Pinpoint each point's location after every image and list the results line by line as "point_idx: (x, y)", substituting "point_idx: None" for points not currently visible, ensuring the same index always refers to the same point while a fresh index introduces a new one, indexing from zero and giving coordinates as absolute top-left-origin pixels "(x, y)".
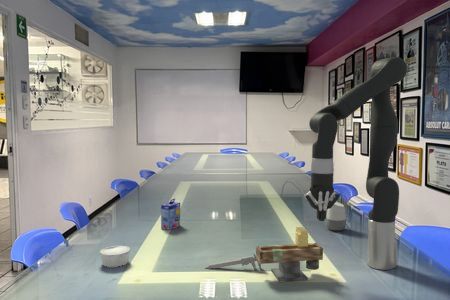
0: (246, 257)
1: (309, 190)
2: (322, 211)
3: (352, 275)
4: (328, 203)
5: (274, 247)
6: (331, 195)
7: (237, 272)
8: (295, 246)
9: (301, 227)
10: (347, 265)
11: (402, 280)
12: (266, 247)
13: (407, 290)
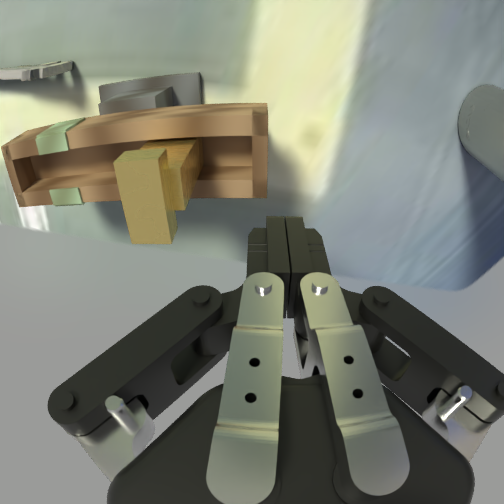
0: (12, 76)
1: (108, 491)
2: (284, 314)
3: (368, 161)
4: (390, 328)
5: (58, 149)
6: (437, 416)
7: (16, 99)
8: (145, 143)
9: (147, 170)
10: (402, 81)
11: (460, 223)
12: (31, 155)
13: (425, 267)
